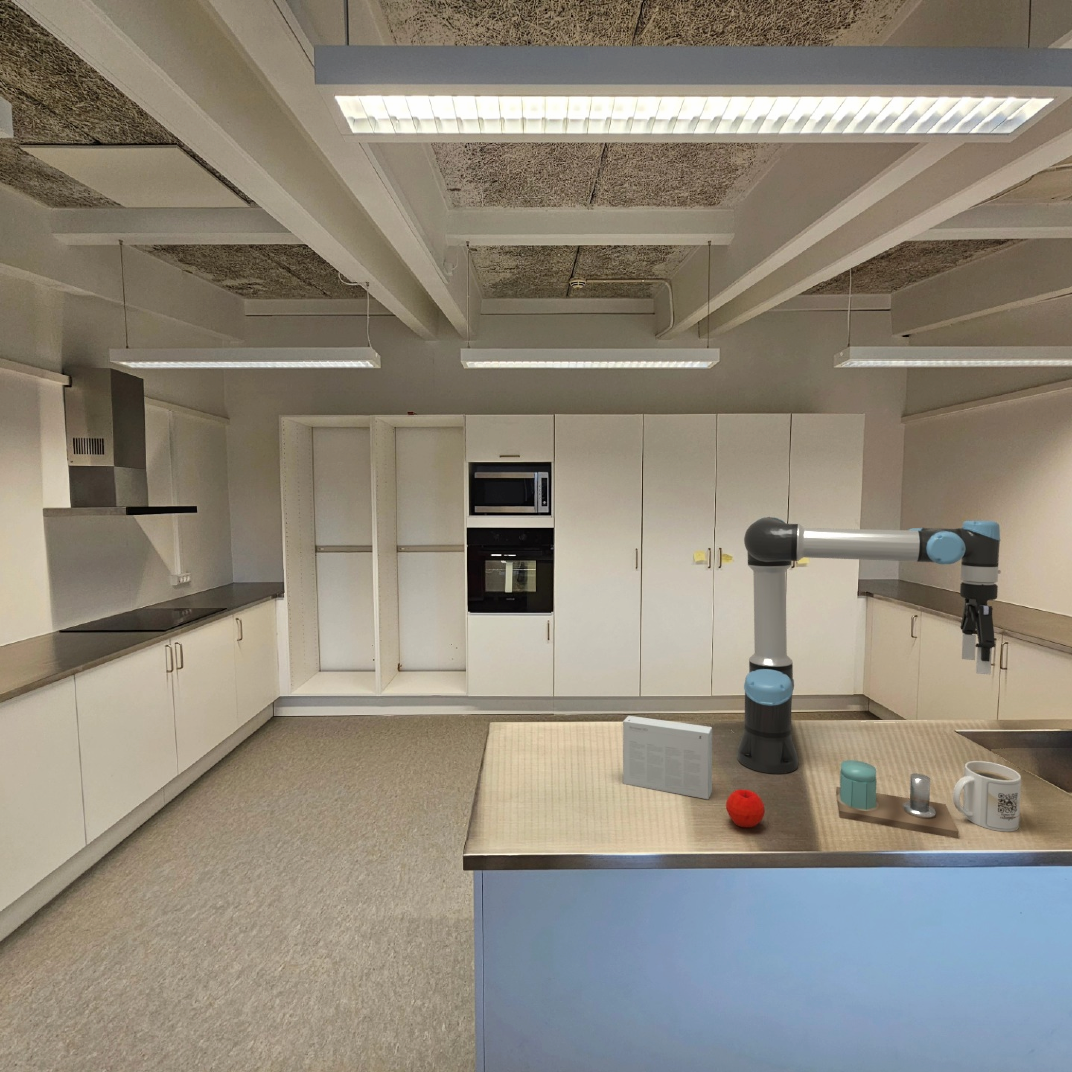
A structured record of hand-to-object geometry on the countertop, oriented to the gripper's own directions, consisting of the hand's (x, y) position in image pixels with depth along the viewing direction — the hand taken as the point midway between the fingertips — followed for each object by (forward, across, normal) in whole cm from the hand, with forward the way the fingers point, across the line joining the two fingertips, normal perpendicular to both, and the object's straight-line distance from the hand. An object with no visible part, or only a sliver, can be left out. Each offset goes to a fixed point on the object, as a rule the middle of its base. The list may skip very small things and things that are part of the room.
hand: (975, 666), depth 153 cm
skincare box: (+28, -36, +70) cm, 84 cm away
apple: (+28, -47, +52) cm, 75 cm away
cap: (+26, -30, +28) cm, 49 cm away
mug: (+28, -25, +3) cm, 38 cm away
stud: (+26, -30, +16) cm, 43 cm away
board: (+28, -30, +21) cm, 46 cm away
